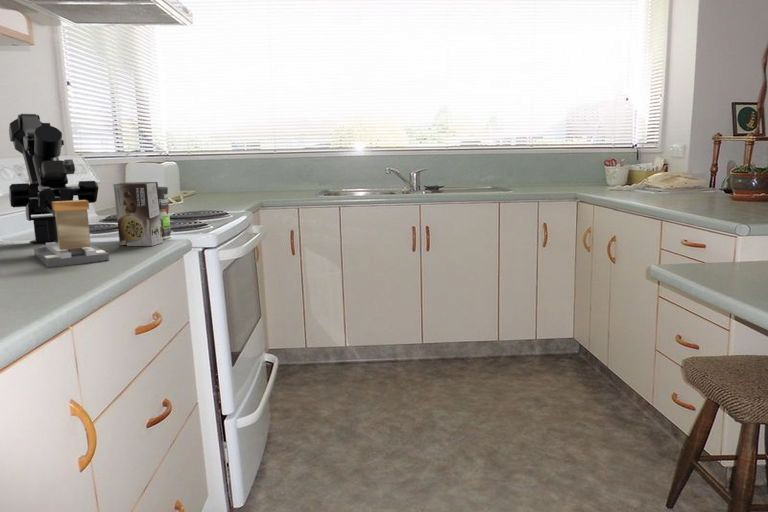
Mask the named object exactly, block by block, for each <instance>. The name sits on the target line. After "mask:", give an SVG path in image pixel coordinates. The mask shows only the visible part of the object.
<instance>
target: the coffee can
mask: <svg viewBox="0 0 768 512" xmlns="http://www.w3.org/2000/svg"><path fill="white" fill-rule="evenodd" d="M168 190H169V189H168V186H158V193H159V205H160V216H161V228H162V239H163V240H166V239H171V238H172V234H171V233H172V232H171V222H170V221H171V219H170V218H171V217H170V208H169V207H170V205H169V196H168V195H169V194H168V193H169V192H168Z"/></svg>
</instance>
